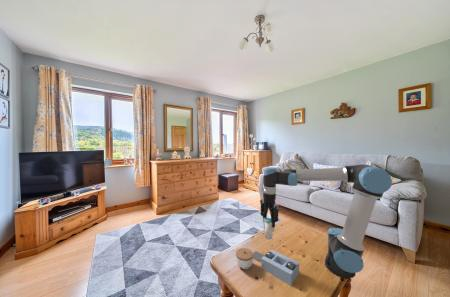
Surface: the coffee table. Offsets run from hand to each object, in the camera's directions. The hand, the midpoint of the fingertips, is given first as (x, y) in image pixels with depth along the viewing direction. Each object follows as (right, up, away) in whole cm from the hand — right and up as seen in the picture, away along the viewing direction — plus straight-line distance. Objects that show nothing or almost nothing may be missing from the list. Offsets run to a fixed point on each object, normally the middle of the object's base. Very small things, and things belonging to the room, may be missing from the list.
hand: (268, 229), depth 102 cm
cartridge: (0, -5, 0) cm, 5 cm away
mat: (-6, -21, +7) cm, 23 cm away
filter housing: (+5, -22, -5) cm, 23 cm away
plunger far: (+1, -19, -1) cm, 19 cm away
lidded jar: (-15, -22, -1) cm, 27 cm away
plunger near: (+10, -19, -10) cm, 23 cm away
